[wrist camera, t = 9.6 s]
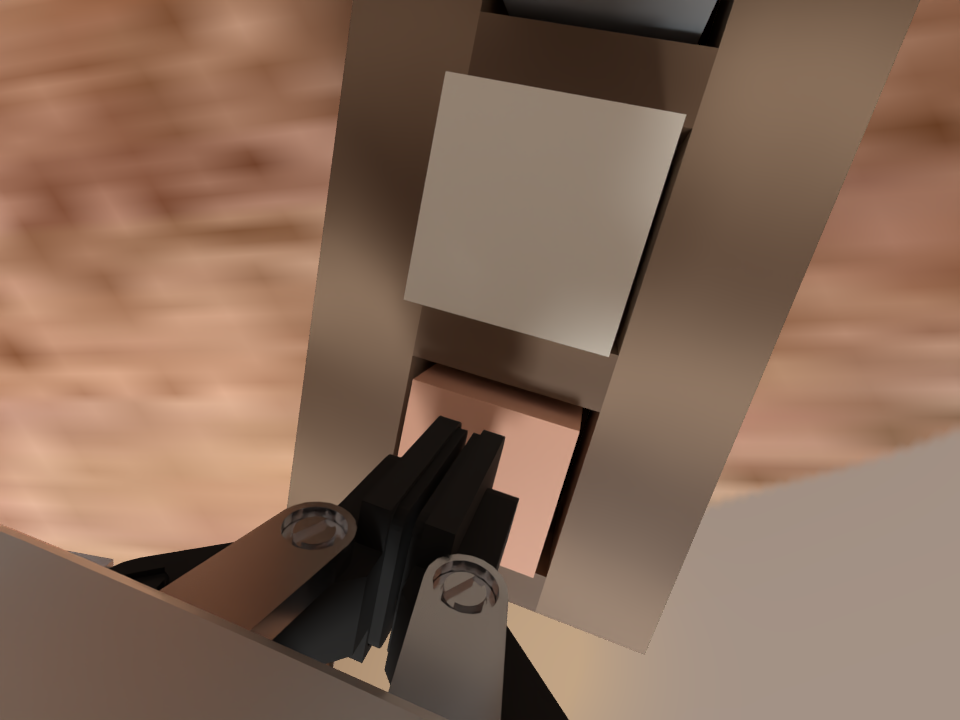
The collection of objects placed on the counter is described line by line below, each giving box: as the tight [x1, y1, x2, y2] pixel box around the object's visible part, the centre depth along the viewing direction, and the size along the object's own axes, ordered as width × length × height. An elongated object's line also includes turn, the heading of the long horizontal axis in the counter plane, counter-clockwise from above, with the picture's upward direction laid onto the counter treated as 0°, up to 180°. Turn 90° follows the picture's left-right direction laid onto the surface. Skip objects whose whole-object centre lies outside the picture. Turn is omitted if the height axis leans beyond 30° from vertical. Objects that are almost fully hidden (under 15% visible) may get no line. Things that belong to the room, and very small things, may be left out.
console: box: [287, 0, 920, 654], centre depth 14 cm, size 22×12×4 cm, turn 167°
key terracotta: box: [398, 363, 583, 578], centre depth 15 cm, size 5×5×4 cm
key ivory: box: [403, 71, 686, 357], centre depth 11 cm, size 5×5×4 cm
